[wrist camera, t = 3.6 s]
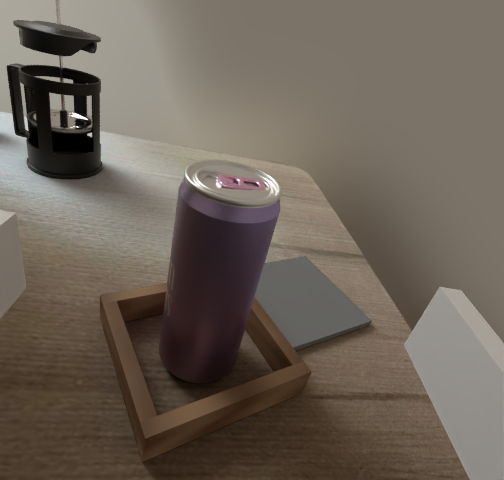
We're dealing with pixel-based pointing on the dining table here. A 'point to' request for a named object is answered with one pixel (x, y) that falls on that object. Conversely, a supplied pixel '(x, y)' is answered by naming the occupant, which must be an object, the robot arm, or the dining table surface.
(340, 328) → the slate coaster
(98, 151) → the french press
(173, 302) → the beverage can
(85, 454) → the dining table surface
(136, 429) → the walnut holder
